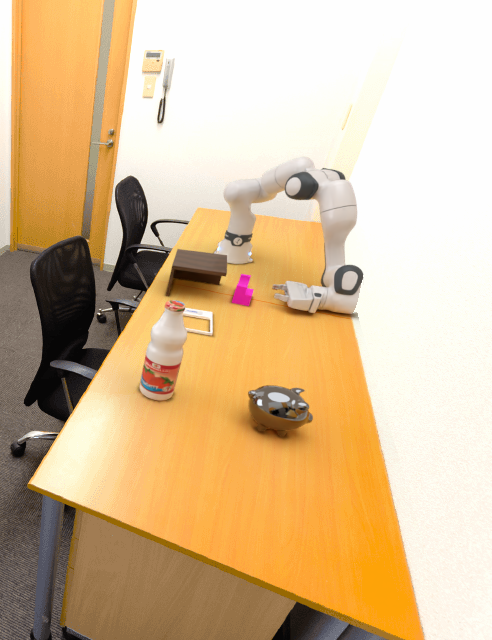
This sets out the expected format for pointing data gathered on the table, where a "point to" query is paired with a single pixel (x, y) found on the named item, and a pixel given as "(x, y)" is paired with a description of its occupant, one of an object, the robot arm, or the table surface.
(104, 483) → the table surface
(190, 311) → the photo frame
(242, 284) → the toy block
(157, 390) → the fruit juice
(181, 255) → the shelf
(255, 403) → the piggy bank
